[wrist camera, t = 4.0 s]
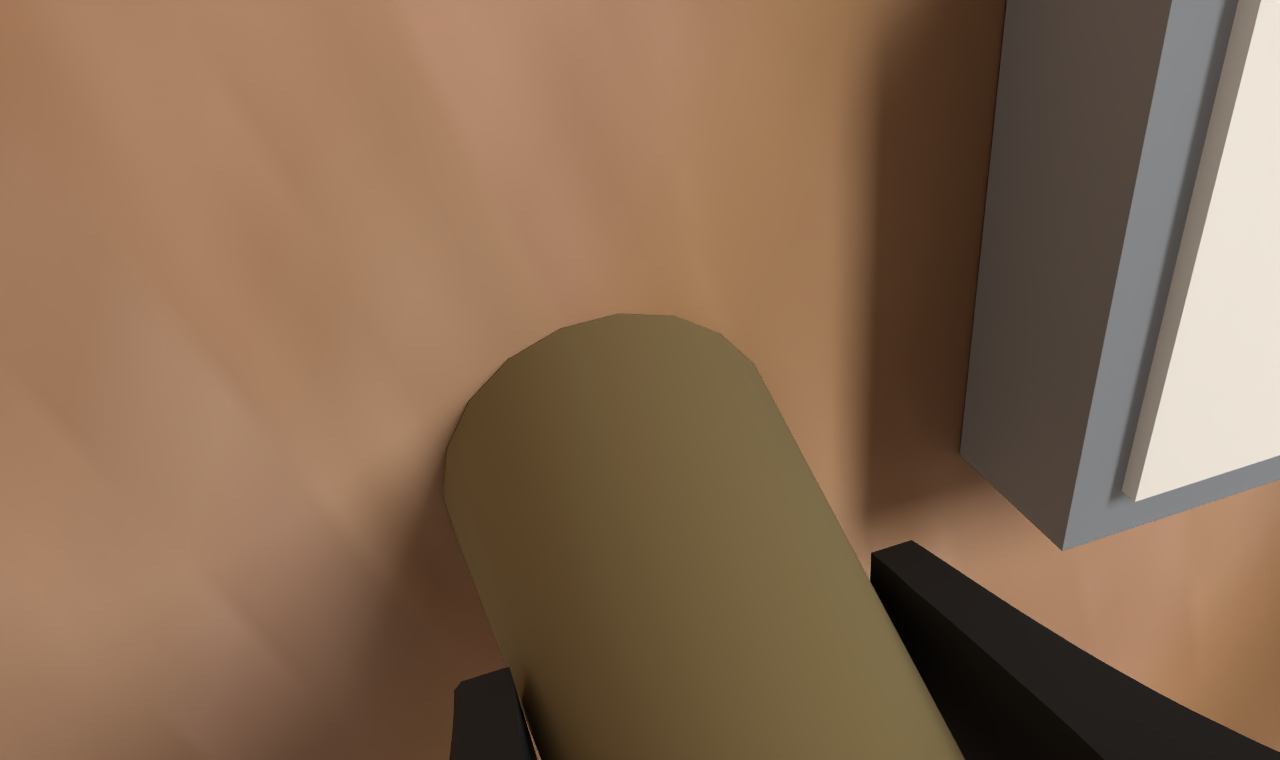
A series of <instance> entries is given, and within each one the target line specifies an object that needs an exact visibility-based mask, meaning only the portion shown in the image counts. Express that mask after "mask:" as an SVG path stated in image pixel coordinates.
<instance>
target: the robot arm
mask: <svg viewBox="0 0 1280 760" xmlns="http://www.w3.org/2000/svg"><path fill="white" fill-rule="evenodd" d="M870 582H871V584H872V586H873V588H874V590H875V591H876V593H877V595H878V597H879V599H880V601H881V603H882V605H883V606H884V608H885V610H886V612H887V614H888V616H889V618H890V620H891V622H892V623H893V625H894V627H895V629H896V631H897V633H898V635H899V637H900V638H901V640H902V642H903V644H904V646H905V648H906V650H907V652H908V653H909V655H910V657H911V659H912V661H913V663H914V665H915V667H916V668H917V670H918V672H919V674H920V676H921V678H922V680H923V682H924V683H925V685H926V687H927V689H928V691H929V693H930V695H931V697H932V698H933V700H934V702H935V704H936V706H937V708H938V710H939V712H940V713H941V715H942V717H943V719H944V721H945V723H946V725H947V727H948V728H949V730H950V732H951V734H952V736H953V738H954V740H955V742H956V744H957V745H958V747H959V749H960V751H961V753H962V755H963V757H964V759H965V760H1280V752H1278V751H1275V750H1273V749H1271V748H1269V747H1267V746H1264V745H1262V744H1260V743H1258V742H1256V741H1254V740H1251V739H1249V738H1247V737H1245V736H1243V735H1241V734H1239V733H1237V732H1235V731H1233V730H1231V729H1229V728H1227V727H1225V726H1223V725H1221V724H1219V723H1217V722H1215V721H1212V720H1210V719H1208V718H1206V717H1204V716H1202V715H1200V714H1198V713H1196V712H1194V711H1192V710H1190V709H1188V708H1186V707H1184V706H1182V705H1180V704H1178V703H1176V702H1175V701H1173V700H1171V699H1169V698H1167V697H1165V696H1163V695H1161V694H1159V693H1157V692H1156V691H1154V690H1152V689H1150V688H1148V687H1147V686H1145V685H1143V684H1141V683H1139V682H1138V681H1136V680H1134V679H1132V678H1131V677H1129V676H1127V675H1125V674H1123V673H1122V672H1120V671H1118V670H1116V669H1114V668H1113V667H1111V666H1109V665H1107V664H1106V663H1104V662H1102V661H1101V660H1099V659H1097V658H1095V657H1094V656H1092V655H1090V654H1089V653H1087V652H1085V651H1084V650H1082V649H1080V648H1079V647H1077V646H1075V645H1074V644H1072V643H1070V642H1069V641H1067V640H1066V639H1064V638H1062V637H1061V636H1059V635H1057V634H1056V633H1054V632H1053V631H1051V630H1049V629H1048V628H1046V627H1044V626H1043V625H1041V624H1040V623H1038V622H1036V621H1035V620H1033V619H1032V618H1030V617H1028V616H1027V615H1025V614H1024V613H1022V612H1021V611H1019V610H1017V609H1016V608H1014V607H1013V606H1011V605H1010V604H1008V603H1007V602H1005V601H1003V600H1002V599H1000V598H999V597H997V596H996V595H994V594H993V593H991V592H990V591H988V590H987V589H985V588H984V587H982V586H981V585H979V584H978V583H976V582H974V581H973V580H971V579H970V578H968V577H967V576H965V575H964V574H962V573H961V572H959V571H958V570H956V569H955V568H953V567H952V566H950V565H949V564H947V563H946V562H944V561H943V560H941V559H940V558H938V557H937V556H935V555H934V554H932V553H931V552H929V551H928V550H926V549H925V548H923V547H921V546H920V545H918V544H917V543H915V542H914V541H912V540H911V541H908V542H904V543H901V544H898V545H895V546H892V547H888V548H885V549H882V550H879V551H876V552H873V553H871V577H870ZM450 760H537V757H536V753H535V750H534V747H533V743H532V740H531V737H530V733H529V730H528V727H527V724H526V720H525V717H524V714H523V710H522V707H521V704H520V700H519V697H518V694H517V690H516V687H515V684H514V681H513V677H512V674H511V671H510V667H507V668H503V669H500V670H497V671H494V672H491V673H488V674H484V675H481V676H478V677H475V678H472V679H468V680H465V681H462V682H461V683H460V684H459V685H458V687H457V688H456V689H455V690H454V719H453V732H452V743H451V752H450Z"/></svg>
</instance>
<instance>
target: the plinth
mask: <svg viewBox="0 0 1280 760" xmlns="http://www.w3.org/2000/svg"><path fill="white" fill-rule="evenodd" d="M960 456H961V457H962V458H963V459H964V460H965V461H967V462H968V463H969V464H970V465H971V466H972V467H973V468H974V469H975V470H976V471H977V472H978V473H979V474H980V475H981V476H983V477H984V478H985V479H986V480H987V481H988V482H989V483H990V484H991V485H992V486H993V487H994V488H995V489H996V490H998V491H999V492H1000V493H1001V494H1002V495H1003V496H1004V497H1005V498H1006V499H1007V500H1008V501H1009V502H1010V503H1011V504H1012V505H1014V506H1015V507H1016V508H1017V509H1018V510H1019V511H1020V512H1021V513H1022V514H1023V515H1024V516H1025V517H1026V518H1027V519H1028V520H1030V521H1031V522H1032V523H1033V524H1034V525H1035V526H1036V527H1037V528H1038V529H1039V530H1040V531H1041V532H1042V533H1043V534H1045V535H1046V536H1047V537H1048V538H1049V539H1050V540H1051V541H1052V542H1053V543H1054V544H1055V545H1056V546H1057V547H1058V548H1059V549H1061V550H1062V551H1064V550H1067V549H1070V548H1073V547H1076V546H1079V545H1082V544H1085V543H1088V542H1091V541H1094V540H1097V539H1100V538H1103V537H1106V536H1109V535H1112V534H1116V533H1119V532H1122V531H1125V530H1128V529H1131V528H1134V527H1137V526H1140V525H1143V524H1146V523H1149V522H1152V521H1155V520H1158V519H1161V518H1164V517H1167V516H1170V515H1173V514H1176V513H1179V512H1183V511H1186V510H1189V509H1192V508H1195V507H1198V506H1201V505H1204V504H1207V503H1210V502H1213V501H1216V500H1219V499H1222V498H1225V497H1228V496H1231V495H1234V494H1237V493H1240V492H1243V491H1246V490H1249V489H1253V488H1256V487H1259V486H1262V485H1265V484H1268V483H1271V482H1274V481H1277V480H1280V0H1007V5H1006V14H1005V24H1004V34H1003V43H1002V53H1001V63H1000V72H999V82H998V91H997V101H996V111H995V120H994V130H993V140H992V149H991V159H990V168H989V178H988V188H987V197H986V207H985V217H984V226H983V236H982V245H981V255H980V265H979V274H978V284H977V294H976V303H975V313H974V322H973V332H972V342H971V351H970V361H969V371H968V380H967V390H966V399H965V409H964V419H963V428H962V438H961V448H960Z"/></svg>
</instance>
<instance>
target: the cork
mask: <svg viewBox="0 0 1280 760" xmlns="http://www.w3.org/2000/svg"><path fill="white" fill-rule="evenodd" d="M443 498H444V501H445V504H446V507H447V510H448V513H449V516H450V519H451V522H452V525H453V528H454V531H455V534H456V537H457V540H458V542H459V545H460V548H461V550H462V553H463V555H464V558H465V561H466V563H467V566H468V568H469V571H470V574H471V576H472V579H473V582H474V584H475V587H476V589H477V592H478V595H479V597H480V600H481V603H482V605H483V608H484V610H485V613H486V616H487V618H488V621H489V623H490V626H491V629H492V631H493V634H494V637H495V639H496V642H497V644H498V647H499V650H500V652H501V655H502V657H503V660H504V663H505V665H506V668H507V667H510V671H511V674H512V677H513V681H514V684H515V687H516V690H517V694H518V697H519V700H520V704H521V707H522V710H523V712H524V715H525V718H526V720H527V723H528V726H529V728H530V731H531V733H532V736H533V739H534V741H535V744H536V746H537V749H538V752H539V754H540V757H541V760H965V759H964V757H963V755H962V753H961V751H960V749H959V747H958V745H957V744H956V742H955V740H954V738H953V736H952V734H951V732H950V730H949V728H948V727H947V725H946V723H945V721H944V719H943V717H942V715H941V713H940V712H939V710H938V708H937V706H936V704H935V702H934V700H933V698H932V697H931V695H930V693H929V691H928V689H927V687H926V685H925V683H924V682H923V680H922V678H921V676H920V674H919V672H918V670H917V668H916V667H915V665H914V663H913V661H912V659H911V657H910V655H909V653H908V652H907V650H906V648H905V646H904V644H903V642H902V640H901V638H900V637H899V635H898V633H897V631H896V629H895V627H894V625H893V623H892V622H891V620H890V618H889V616H888V614H887V612H886V610H885V608H884V606H883V605H882V603H881V601H880V599H879V597H878V595H877V593H876V591H875V590H874V588H873V586H872V584H871V582H870V580H869V578H868V576H867V575H866V573H865V571H864V569H863V567H862V565H861V563H860V561H859V560H858V558H857V556H856V554H855V552H854V550H853V548H852V546H851V545H850V543H849V541H848V539H847V537H846V535H845V533H844V531H843V530H842V528H841V526H840V524H839V522H838V520H837V518H836V516H835V515H834V513H833V511H832V509H831V507H830V505H829V503H828V501H827V499H826V498H825V496H824V494H823V492H822V490H821V488H820V486H819V484H818V483H817V481H816V479H815V477H814V475H813V473H812V471H811V469H810V468H809V466H808V464H807V462H806V460H805V458H804V456H803V454H802V453H801V451H800V449H799V447H798V445H797V443H796V441H795V439H794V438H793V436H792V434H791V432H790V430H789V428H788V426H787V424H786V423H785V421H784V419H783V417H782V415H781V413H780V411H779V409H778V408H777V406H776V404H775V402H774V400H773V398H772V396H771V394H770V392H769V391H768V389H767V387H766V385H765V383H764V381H763V379H762V377H761V376H760V374H759V372H758V370H757V368H756V366H755V364H754V363H753V362H752V361H750V360H749V359H748V358H747V357H746V356H745V355H744V354H743V353H742V352H740V351H739V350H738V349H737V348H736V347H735V346H734V345H733V344H732V343H730V342H729V341H728V340H727V339H726V338H725V337H724V336H723V335H722V334H720V333H717V332H715V331H712V330H709V329H707V328H704V327H702V326H699V325H696V324H694V323H691V322H689V321H686V320H683V319H681V318H678V317H675V316H663V315H638V314H616V315H612V316H608V317H604V318H600V319H596V320H592V321H588V322H584V323H580V324H577V325H573V326H569V327H565V328H561V329H559V330H558V331H556V332H554V333H552V334H551V335H549V336H547V337H546V338H544V339H542V340H540V341H539V342H537V343H535V344H534V345H532V346H530V347H528V348H527V349H525V350H523V351H522V352H520V353H518V354H516V355H515V356H513V357H511V358H510V359H508V360H507V361H506V362H505V364H504V365H503V366H502V367H501V368H500V369H499V370H498V371H497V372H496V373H495V374H494V375H493V376H492V377H491V378H490V379H489V381H488V382H487V383H486V384H485V385H484V386H483V387H482V388H481V389H480V390H479V391H478V392H477V393H476V394H475V395H474V396H473V397H472V399H471V400H470V401H469V402H468V405H467V407H466V409H465V411H464V413H463V415H462V417H461V419H460V422H459V424H458V426H457V428H456V430H455V432H454V434H453V436H452V439H451V441H450V443H449V445H448V447H447V451H446V463H445V476H444V489H443Z"/></svg>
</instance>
